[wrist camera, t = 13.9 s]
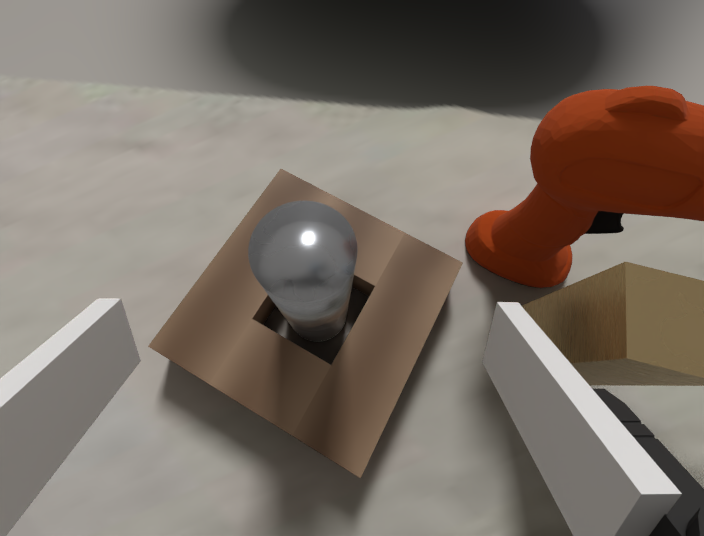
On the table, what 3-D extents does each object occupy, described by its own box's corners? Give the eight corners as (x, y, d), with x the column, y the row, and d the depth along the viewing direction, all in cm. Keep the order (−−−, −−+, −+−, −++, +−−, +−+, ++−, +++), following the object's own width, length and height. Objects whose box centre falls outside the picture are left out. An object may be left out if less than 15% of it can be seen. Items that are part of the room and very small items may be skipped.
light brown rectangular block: (557, 327, 25) (722, 285, 14) (555, 385, 23) (733, 385, 13) (502, 313, 25) (625, 261, 14) (496, 370, 23) (626, 358, 13)
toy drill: (734, 353, 23) (1281, 278, 9) (455, 266, 27) (539, 117, 13) (734, 287, 25) (1203, 137, 11) (471, 214, 28) (561, 29, 14)
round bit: (356, 302, 24) (376, 230, 13) (328, 352, 23) (322, 322, 12) (308, 275, 25) (286, 183, 14) (278, 323, 24) (226, 267, 12)
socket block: (448, 276, 25) (462, 262, 23) (357, 465, 21) (360, 478, 18) (286, 191, 27) (280, 168, 24) (171, 351, 23) (148, 346, 20)
